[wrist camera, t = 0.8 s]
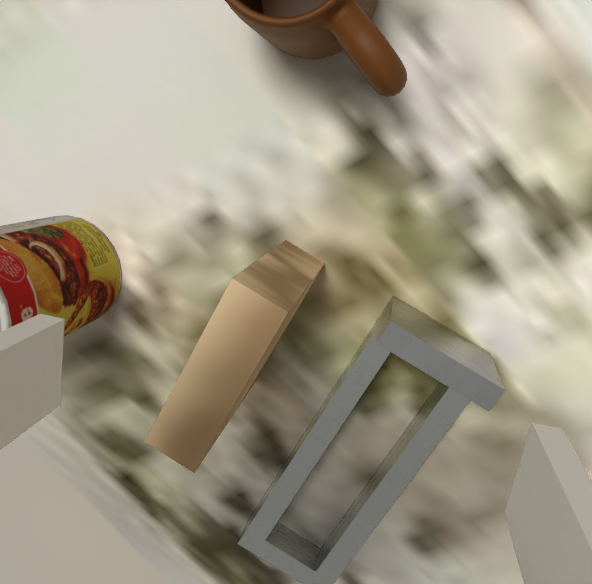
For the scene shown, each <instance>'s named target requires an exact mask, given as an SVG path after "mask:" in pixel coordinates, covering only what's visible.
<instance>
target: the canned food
mask: <svg viewBox="0 0 592 584" xmlns="http://www.w3.org/2000/svg"><path fill="white" fill-rule="evenodd" d="M121 276H122V274H121V268H120V261H119V258H118V256H117V253H116V251H115V249H114V246H113V245H112V244H111V242H110V241H109V239H108V238H107V237H106V235H105V234H104V233H103V232H102V231H100V230H99V229H98V228H97V227H96V226H95V225H93V224H91V223H89V222H87V221H85V220H84V219H82V218H77V217H73V216H68V215H66V216H54V217H48V218H43V219H37V220H32V221H26V222H21V223H15V224H9V225H4V226H0V332H1V331H3V330H6V329H8V328H10V327H12V326H14V325H17V324H19V323H21V322H23V321H25V320H28V319H30V318H32V317H34V316H36V315H39V314H44V315H48V316H53V317H57V318H62V319H64V336H66V335H67V334H69V333H71V332H73V331H75V330H77V329H79V328H80V327H82V326H84V325H86V324H88V323H90V322H92V321H94V320H95V319H97V318H99V317H100V316H102V315H103V314H104V313H106V312H107V311H108V310H109V309H110V308H111V306H112V305H113V304H114V302H115V301H116V299H117V296H118V293H119V291H120V286H121Z"/></svg>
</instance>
